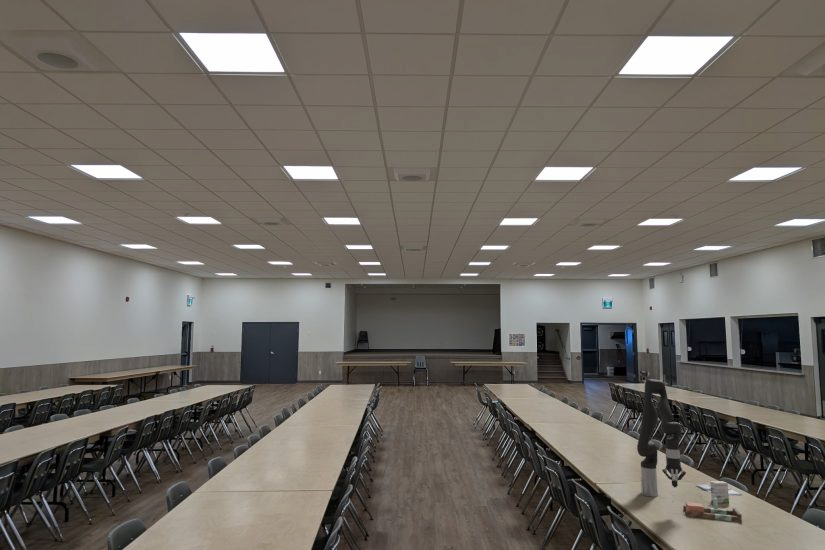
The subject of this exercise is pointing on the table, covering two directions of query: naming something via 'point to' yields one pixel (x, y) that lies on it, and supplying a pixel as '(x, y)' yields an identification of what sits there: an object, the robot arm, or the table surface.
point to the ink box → (719, 491)
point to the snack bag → (708, 488)
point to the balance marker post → (715, 503)
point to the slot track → (717, 514)
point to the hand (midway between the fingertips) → (674, 487)
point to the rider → (694, 507)
